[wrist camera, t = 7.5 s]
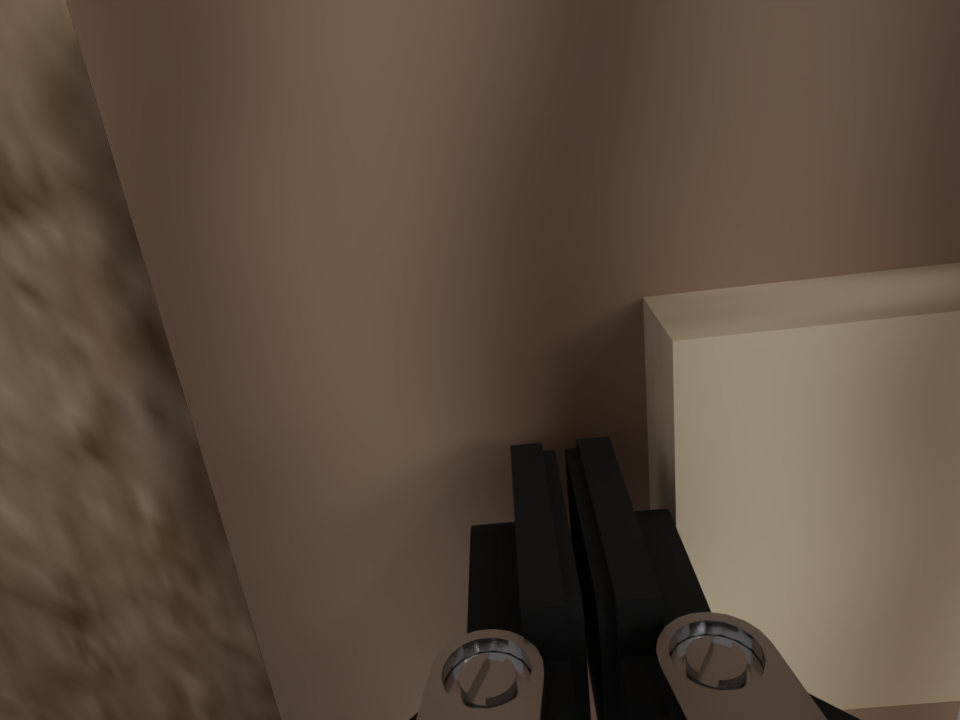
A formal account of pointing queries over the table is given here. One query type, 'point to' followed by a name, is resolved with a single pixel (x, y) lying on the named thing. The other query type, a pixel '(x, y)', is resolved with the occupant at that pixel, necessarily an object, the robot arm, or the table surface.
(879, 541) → the tile
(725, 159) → the block
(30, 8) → the table surface
